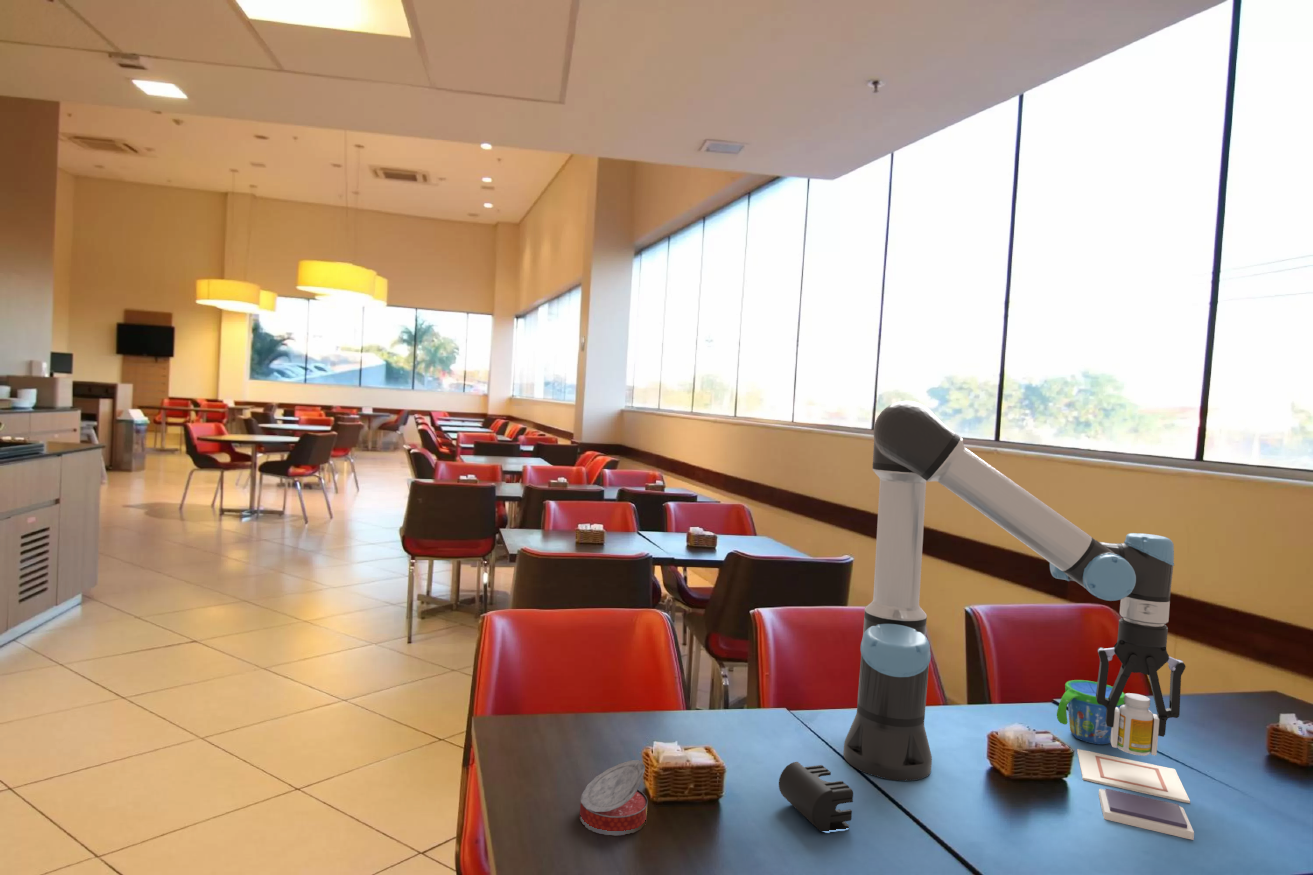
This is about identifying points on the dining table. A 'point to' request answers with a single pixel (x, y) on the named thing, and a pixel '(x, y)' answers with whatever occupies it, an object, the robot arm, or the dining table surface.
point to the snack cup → (1086, 711)
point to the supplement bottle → (1135, 725)
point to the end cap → (816, 796)
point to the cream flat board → (1131, 775)
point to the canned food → (615, 798)
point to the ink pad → (1145, 813)
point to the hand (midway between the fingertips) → (1133, 748)
